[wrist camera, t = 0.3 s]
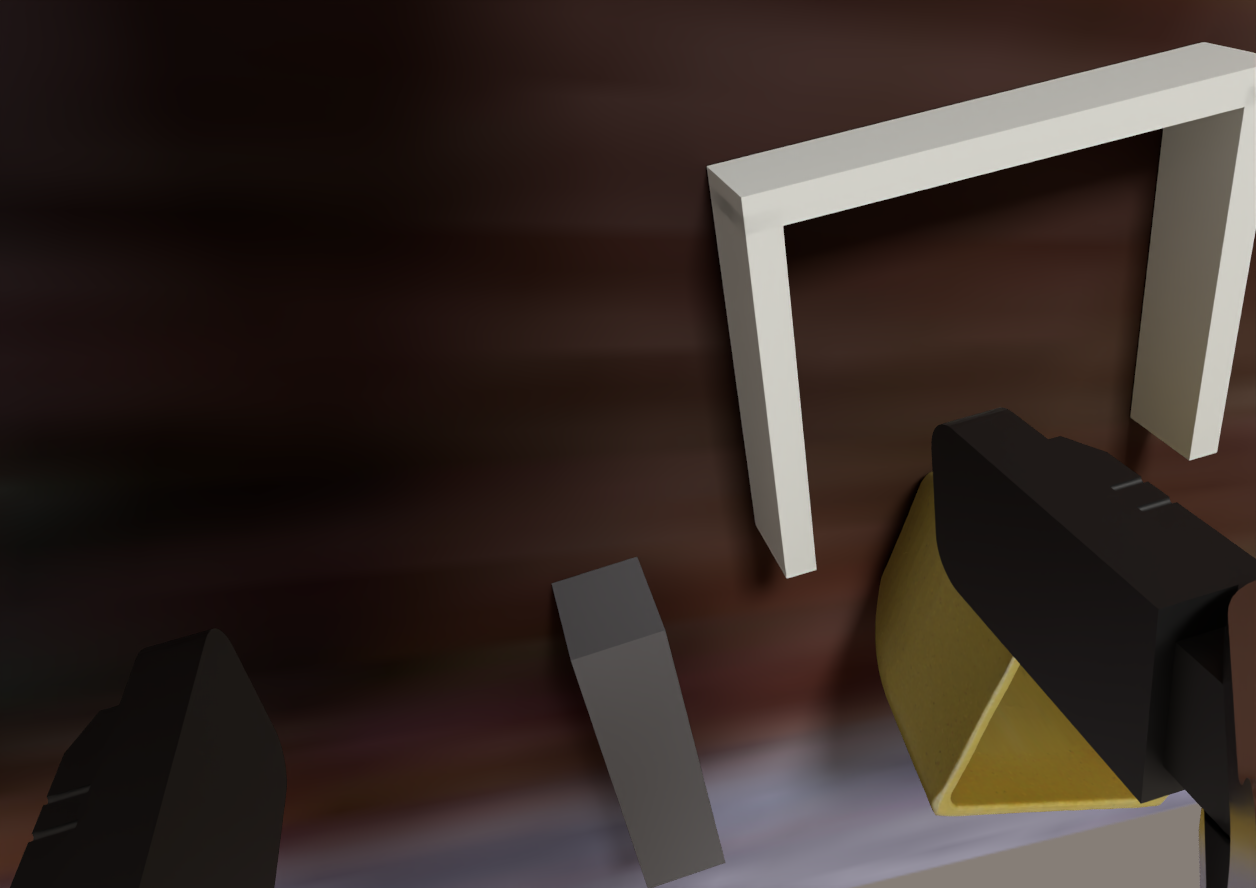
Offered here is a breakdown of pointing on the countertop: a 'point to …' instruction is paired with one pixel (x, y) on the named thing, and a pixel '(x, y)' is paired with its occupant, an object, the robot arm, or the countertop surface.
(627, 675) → the tall gray bar
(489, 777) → the countertop surface
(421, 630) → the countertop surface
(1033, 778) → the flower pot
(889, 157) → the white shallow tray
